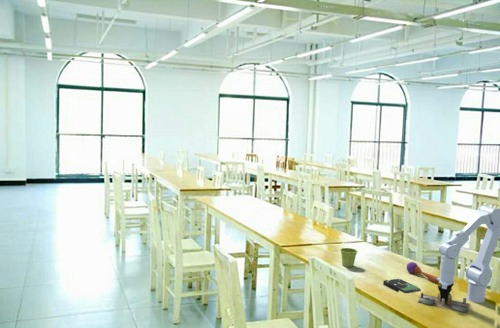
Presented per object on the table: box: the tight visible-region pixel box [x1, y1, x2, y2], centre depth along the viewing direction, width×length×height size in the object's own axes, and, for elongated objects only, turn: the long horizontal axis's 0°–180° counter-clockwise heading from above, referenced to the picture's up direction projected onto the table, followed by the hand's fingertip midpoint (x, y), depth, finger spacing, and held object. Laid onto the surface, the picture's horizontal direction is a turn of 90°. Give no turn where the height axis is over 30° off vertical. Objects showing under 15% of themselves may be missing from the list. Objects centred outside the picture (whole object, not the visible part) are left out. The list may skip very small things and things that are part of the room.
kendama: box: [406, 261, 440, 284], centre depth 245 cm, size 6×6×20 cm
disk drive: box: [383, 278, 421, 294], centre depth 225 cm, size 10×3×15 cm
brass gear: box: [437, 292, 453, 303], centre depth 208 cm, size 6×6×3 cm
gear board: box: [417, 292, 470, 314], centre depth 205 cm, size 13×20×5 cm, turn 61°
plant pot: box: [340, 247, 358, 268], centre depth 258 cm, size 9×9×9 cm
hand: (444, 300), depth 208 cm, fingers closed on brass gear, 6 cm apart
